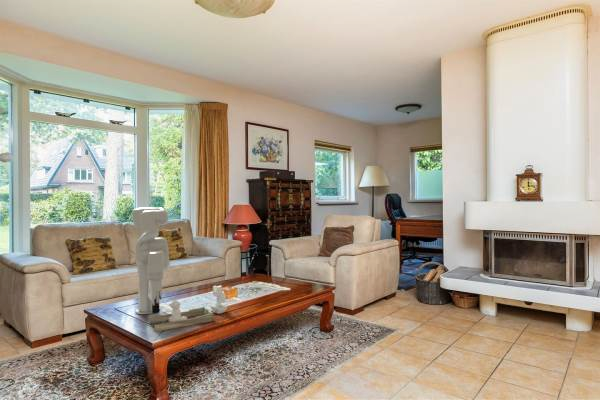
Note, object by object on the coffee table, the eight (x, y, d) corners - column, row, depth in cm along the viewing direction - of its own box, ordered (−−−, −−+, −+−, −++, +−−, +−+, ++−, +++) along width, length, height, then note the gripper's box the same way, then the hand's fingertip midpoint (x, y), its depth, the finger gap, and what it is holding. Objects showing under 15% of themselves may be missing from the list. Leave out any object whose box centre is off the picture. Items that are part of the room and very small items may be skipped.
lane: (149, 323, 191) (149, 315, 191) (204, 313, 207) (204, 306, 207) (154, 331, 180) (154, 323, 179) (213, 320, 196) (213, 313, 196)
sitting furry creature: (187, 319, 197) (187, 297, 197) (184, 325, 189) (184, 302, 188) (168, 320, 196) (168, 298, 195) (165, 326, 187) (165, 302, 187)
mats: (150, 323, 190) (150, 323, 190) (161, 321, 193) (161, 321, 193) (155, 330, 181) (155, 330, 181) (167, 328, 184) (167, 327, 184)
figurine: (219, 315, 204) (219, 288, 204) (208, 311, 210) (208, 285, 210) (229, 312, 210) (229, 286, 210) (218, 308, 216) (218, 283, 215)
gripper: (144, 274, 190) (144, 310, 190) (150, 279, 177) (151, 317, 177) (160, 273, 194) (160, 308, 194) (167, 277, 181) (167, 315, 181)
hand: (155, 312), depth 185 cm, fingers closed
